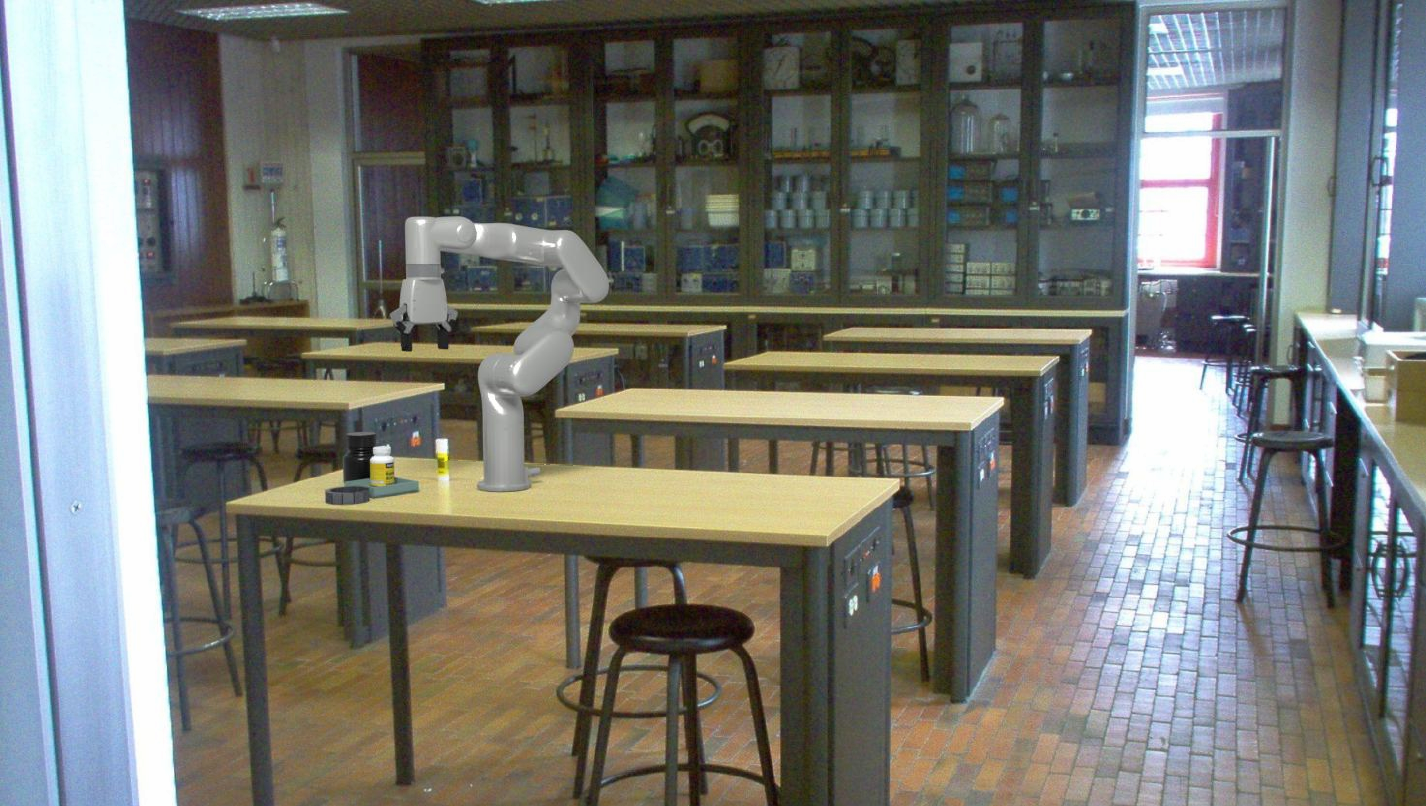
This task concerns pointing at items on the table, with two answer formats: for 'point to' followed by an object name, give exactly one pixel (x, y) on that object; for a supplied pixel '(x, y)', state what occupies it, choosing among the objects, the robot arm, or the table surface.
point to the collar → (347, 495)
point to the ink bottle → (358, 455)
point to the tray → (387, 487)
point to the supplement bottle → (381, 467)
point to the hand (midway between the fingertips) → (425, 350)
